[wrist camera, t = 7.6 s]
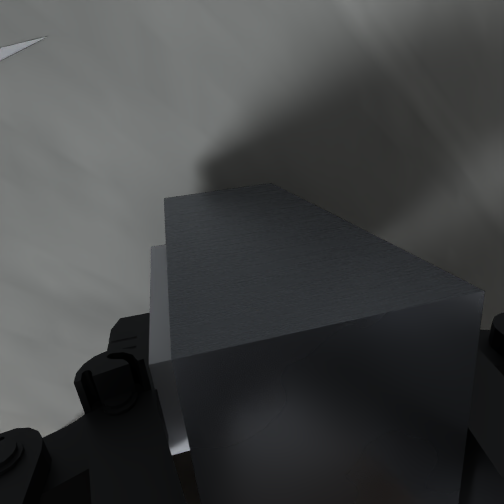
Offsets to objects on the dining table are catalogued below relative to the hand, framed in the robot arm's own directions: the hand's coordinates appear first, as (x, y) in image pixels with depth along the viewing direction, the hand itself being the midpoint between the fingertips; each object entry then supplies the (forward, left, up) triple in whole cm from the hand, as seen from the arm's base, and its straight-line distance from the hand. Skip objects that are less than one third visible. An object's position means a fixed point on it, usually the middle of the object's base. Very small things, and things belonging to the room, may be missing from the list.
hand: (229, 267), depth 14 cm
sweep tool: (+12, 0, +1) cm, 12 cm away
